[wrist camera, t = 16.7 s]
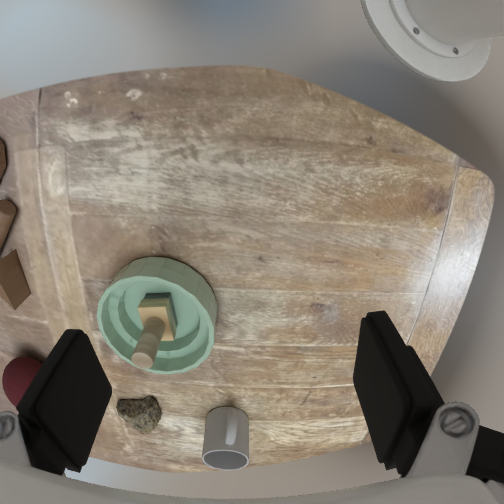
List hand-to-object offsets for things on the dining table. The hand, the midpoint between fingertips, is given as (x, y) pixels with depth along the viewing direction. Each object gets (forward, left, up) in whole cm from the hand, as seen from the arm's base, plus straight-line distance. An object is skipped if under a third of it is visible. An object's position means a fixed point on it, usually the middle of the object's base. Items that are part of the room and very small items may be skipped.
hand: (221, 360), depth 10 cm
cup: (+30, +22, -26) cm, 46 cm away
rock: (+40, +10, -26) cm, 49 cm away
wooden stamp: (+18, +2, -26) cm, 31 cm away
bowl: (+18, +2, -26) cm, 32 cm away
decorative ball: (+47, -9, -26) cm, 55 cm away
